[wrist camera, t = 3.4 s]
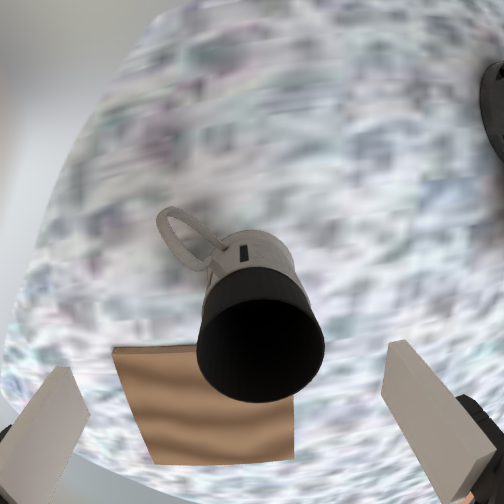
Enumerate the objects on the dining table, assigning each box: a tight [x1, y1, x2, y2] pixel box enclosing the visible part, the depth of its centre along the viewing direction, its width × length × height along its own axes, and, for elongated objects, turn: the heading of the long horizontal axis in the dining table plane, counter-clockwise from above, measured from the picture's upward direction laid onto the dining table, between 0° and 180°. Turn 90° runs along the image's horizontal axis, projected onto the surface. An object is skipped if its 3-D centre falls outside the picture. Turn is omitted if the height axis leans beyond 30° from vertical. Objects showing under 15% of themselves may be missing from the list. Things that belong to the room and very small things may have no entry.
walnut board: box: [112, 345, 294, 465], centre depth 36 cm, size 20×20×2 cm
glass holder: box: [156, 207, 325, 403], centre depth 25 cm, size 9×14×15 cm, turn 37°
